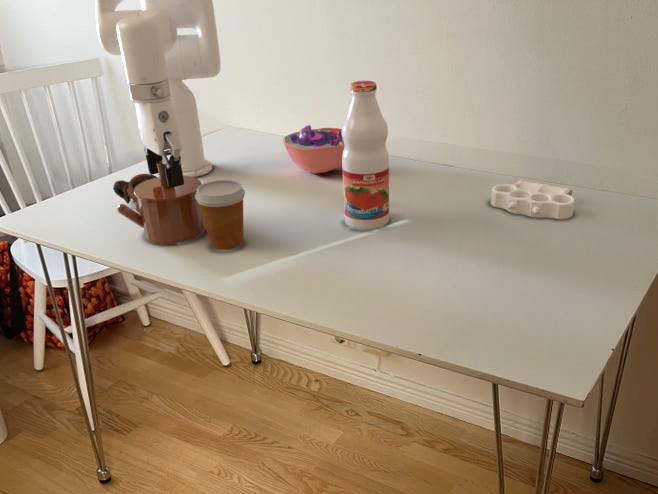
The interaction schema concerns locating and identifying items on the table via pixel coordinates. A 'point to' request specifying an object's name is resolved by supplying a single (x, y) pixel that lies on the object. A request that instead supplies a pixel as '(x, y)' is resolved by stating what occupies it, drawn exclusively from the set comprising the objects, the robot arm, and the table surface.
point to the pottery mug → (131, 188)
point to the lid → (165, 187)
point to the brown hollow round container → (171, 220)
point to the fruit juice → (365, 160)
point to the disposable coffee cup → (222, 212)
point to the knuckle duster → (534, 200)
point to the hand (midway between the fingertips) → (166, 179)
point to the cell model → (316, 149)
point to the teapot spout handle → (130, 214)
